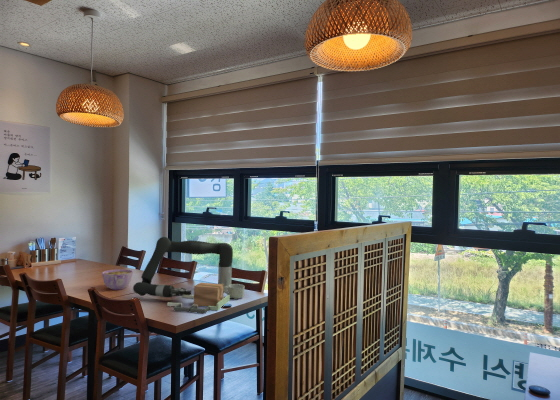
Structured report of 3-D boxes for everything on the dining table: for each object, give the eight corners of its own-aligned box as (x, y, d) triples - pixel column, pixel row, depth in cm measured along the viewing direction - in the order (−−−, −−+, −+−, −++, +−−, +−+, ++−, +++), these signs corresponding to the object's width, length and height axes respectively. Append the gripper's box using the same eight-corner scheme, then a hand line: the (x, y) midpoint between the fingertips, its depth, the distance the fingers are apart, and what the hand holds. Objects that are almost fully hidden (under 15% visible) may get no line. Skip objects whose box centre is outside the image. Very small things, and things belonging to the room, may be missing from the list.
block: (200, 301, 242) (200, 282, 242) (222, 303, 239) (223, 284, 239) (193, 305, 232) (194, 286, 232) (217, 307, 229) (217, 287, 229)
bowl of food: (121, 293, 257) (121, 275, 257) (95, 290, 261) (95, 273, 261) (138, 286, 277) (138, 270, 276) (113, 284, 281) (113, 268, 280)
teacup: (244, 295, 258) (245, 284, 258) (243, 300, 247) (244, 287, 247) (224, 295, 258) (224, 283, 258) (222, 299, 247) (222, 287, 247)
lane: (182, 297, 250) (182, 291, 250) (229, 301, 244) (229, 294, 244) (161, 309, 222) (161, 302, 222) (213, 314, 216) (213, 307, 216)
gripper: (159, 287, 235) (186, 289, 231) (170, 282, 248) (195, 284, 244) (159, 299, 235) (185, 302, 231) (169, 294, 248) (194, 296, 244)
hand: (190, 293), depth 238 cm, fingers closed
